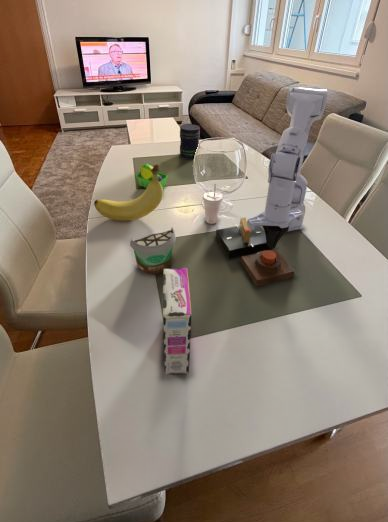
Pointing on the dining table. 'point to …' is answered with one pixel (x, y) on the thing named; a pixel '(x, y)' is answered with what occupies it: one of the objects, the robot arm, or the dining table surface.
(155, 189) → the banana
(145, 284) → the dining table surface
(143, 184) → the fruit basket
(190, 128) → the storage jar
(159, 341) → the dining table surface
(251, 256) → the block
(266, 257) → the button
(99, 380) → the dining table surface
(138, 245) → the food container
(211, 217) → the smoothie
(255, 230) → the base
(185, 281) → the candy bar box
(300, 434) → the dining table surface
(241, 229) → the tap lever
